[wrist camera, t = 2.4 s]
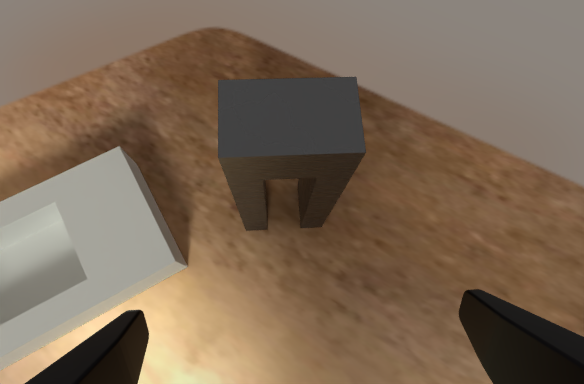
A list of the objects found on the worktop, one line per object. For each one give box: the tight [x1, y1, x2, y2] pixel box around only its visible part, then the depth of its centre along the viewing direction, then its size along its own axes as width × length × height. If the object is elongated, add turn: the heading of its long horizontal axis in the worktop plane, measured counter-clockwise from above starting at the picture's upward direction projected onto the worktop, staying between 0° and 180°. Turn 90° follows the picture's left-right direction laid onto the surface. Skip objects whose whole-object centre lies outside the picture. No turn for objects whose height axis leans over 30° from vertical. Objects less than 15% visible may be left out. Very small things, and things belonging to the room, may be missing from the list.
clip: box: [218, 77, 366, 231], centre depth 19 cm, size 3×5×12 cm, turn 93°
